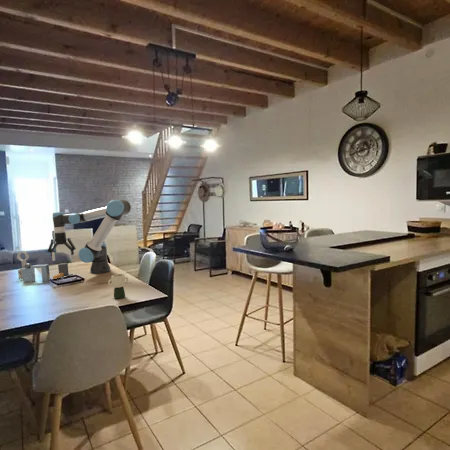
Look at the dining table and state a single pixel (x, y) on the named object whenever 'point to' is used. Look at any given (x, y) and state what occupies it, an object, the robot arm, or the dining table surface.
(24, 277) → the housing
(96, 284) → the dining table surface
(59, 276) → the plug
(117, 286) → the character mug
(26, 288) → the dining table surface
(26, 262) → the engine component
